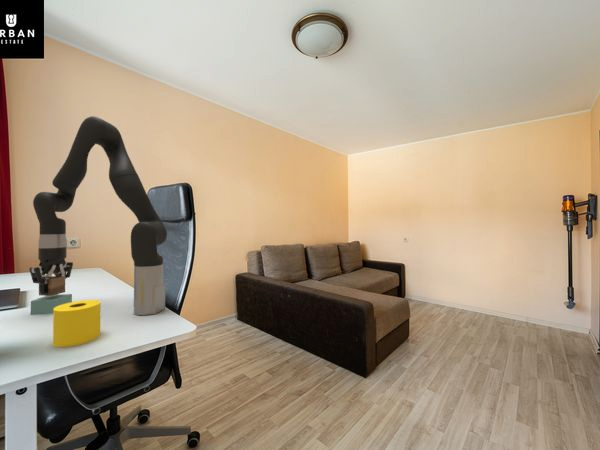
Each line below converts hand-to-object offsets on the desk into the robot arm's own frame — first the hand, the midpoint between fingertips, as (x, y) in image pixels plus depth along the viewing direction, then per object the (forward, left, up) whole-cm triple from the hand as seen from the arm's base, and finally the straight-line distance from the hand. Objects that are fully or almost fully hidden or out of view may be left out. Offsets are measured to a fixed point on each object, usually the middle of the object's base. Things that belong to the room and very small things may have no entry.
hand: (52, 291), depth 95 cm
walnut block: (0, 0, -1) cm, 1 cm away
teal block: (0, 0, -7) cm, 7 cm away
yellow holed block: (-31, +21, -7) cm, 38 cm away
